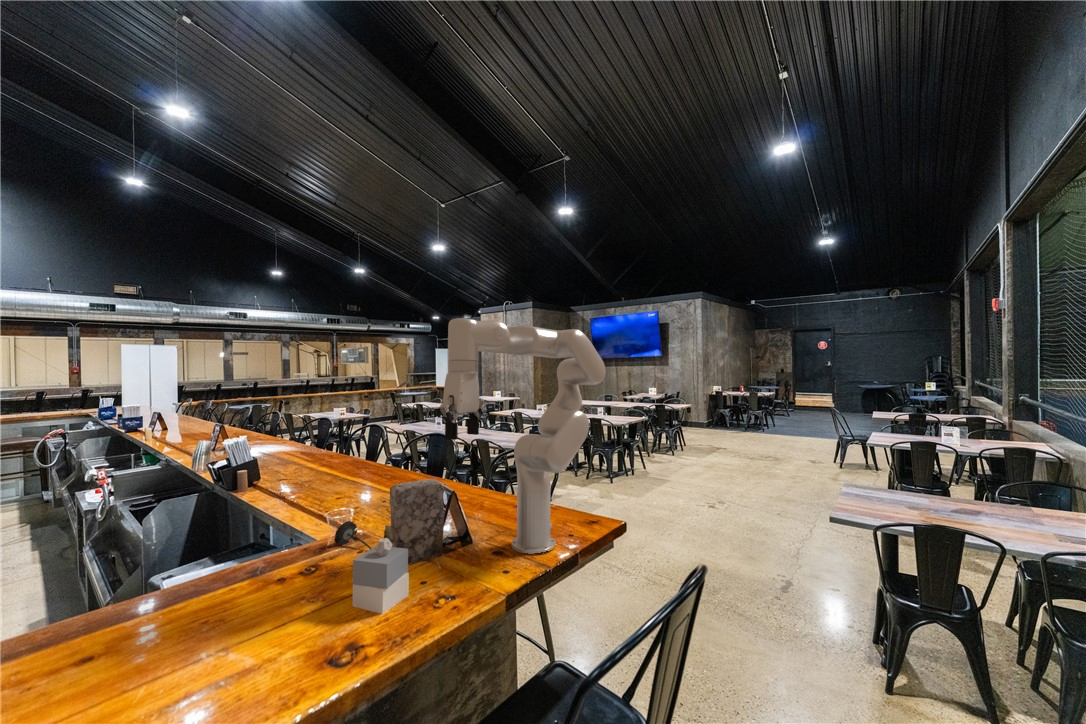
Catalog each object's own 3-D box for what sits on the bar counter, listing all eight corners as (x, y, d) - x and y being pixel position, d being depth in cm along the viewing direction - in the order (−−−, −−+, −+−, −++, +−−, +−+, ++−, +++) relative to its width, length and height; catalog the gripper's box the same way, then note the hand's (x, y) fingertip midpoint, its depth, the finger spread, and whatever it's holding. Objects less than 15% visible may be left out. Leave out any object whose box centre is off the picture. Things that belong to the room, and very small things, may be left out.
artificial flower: (355, 542, 127) (366, 508, 129) (410, 567, 116) (421, 529, 118) (330, 544, 119) (342, 508, 121) (386, 571, 109) (398, 530, 111)
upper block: (376, 567, 96) (376, 545, 96) (407, 571, 94) (408, 548, 94) (352, 584, 88) (353, 560, 89) (386, 588, 87) (387, 564, 87)
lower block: (379, 589, 96) (380, 567, 96) (408, 596, 93) (408, 573, 94) (352, 607, 89) (352, 582, 89) (382, 614, 86) (383, 589, 86)
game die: (375, 558, 89) (375, 544, 89) (374, 552, 93) (374, 538, 93) (392, 555, 91) (393, 541, 91) (391, 549, 94) (391, 535, 94)
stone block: (398, 570, 105) (399, 489, 106) (387, 561, 110) (388, 484, 111) (445, 555, 114) (446, 480, 115) (433, 548, 119) (434, 476, 120)
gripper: (468, 368, 116) (468, 431, 115) (429, 367, 99) (428, 440, 99) (493, 368, 113) (492, 433, 112) (456, 367, 97) (455, 442, 96)
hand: (462, 436), depth 105 cm, fingers open, 9 cm apart
